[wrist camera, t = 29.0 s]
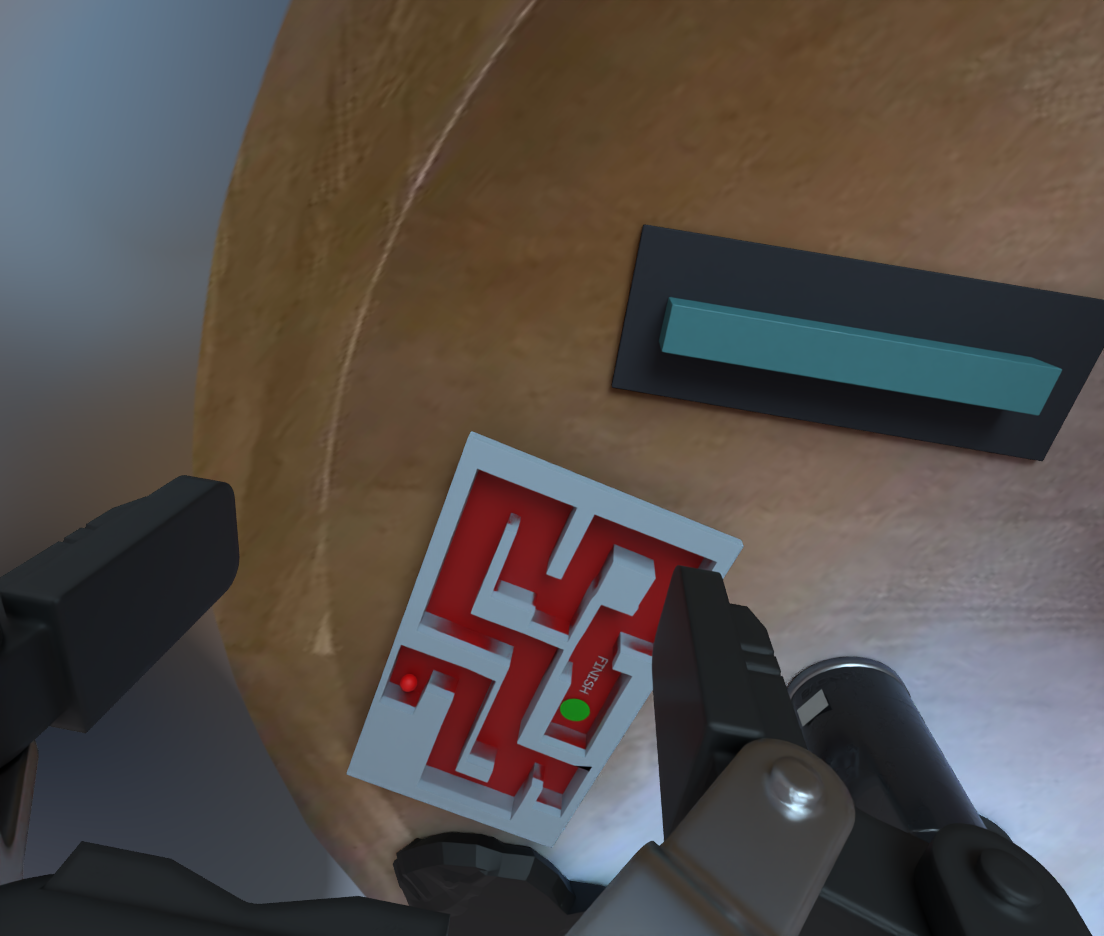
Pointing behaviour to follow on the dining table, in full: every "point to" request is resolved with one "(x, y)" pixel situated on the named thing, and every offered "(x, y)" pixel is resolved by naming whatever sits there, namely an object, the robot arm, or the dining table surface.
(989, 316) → the mat
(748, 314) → the rectangular block
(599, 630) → the maze game
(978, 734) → the dining table surface
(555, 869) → the black flat rock
